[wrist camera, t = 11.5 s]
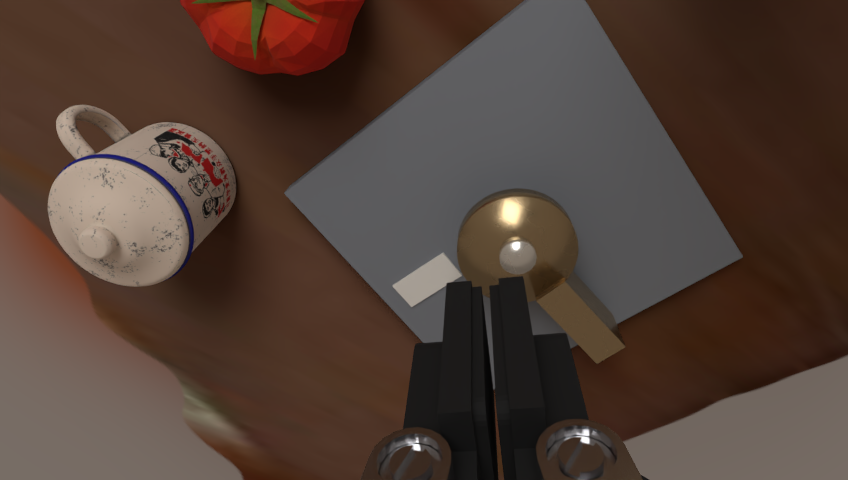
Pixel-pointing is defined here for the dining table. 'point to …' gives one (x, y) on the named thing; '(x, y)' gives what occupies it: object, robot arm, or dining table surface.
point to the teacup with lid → (137, 197)
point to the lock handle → (536, 263)
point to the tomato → (276, 32)
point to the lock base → (518, 173)
